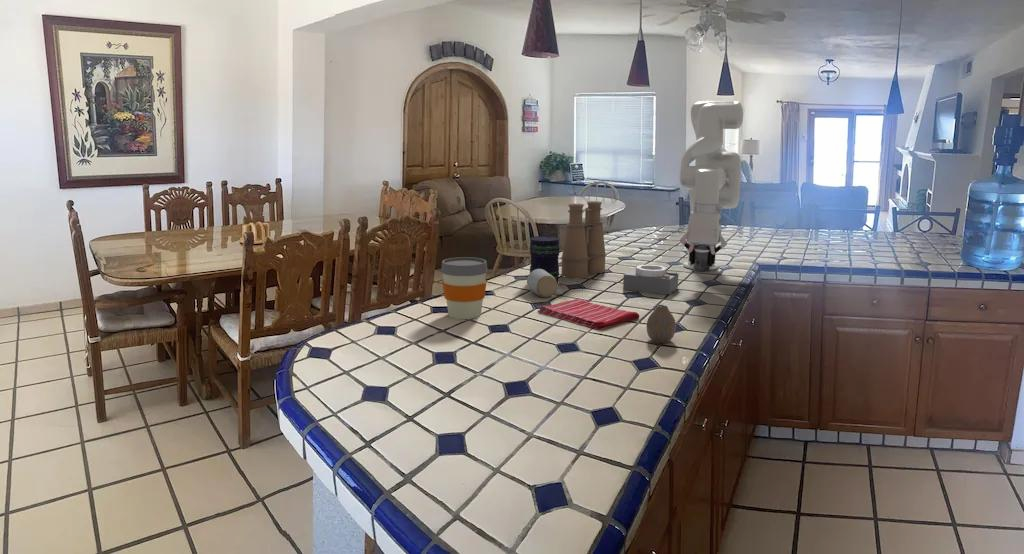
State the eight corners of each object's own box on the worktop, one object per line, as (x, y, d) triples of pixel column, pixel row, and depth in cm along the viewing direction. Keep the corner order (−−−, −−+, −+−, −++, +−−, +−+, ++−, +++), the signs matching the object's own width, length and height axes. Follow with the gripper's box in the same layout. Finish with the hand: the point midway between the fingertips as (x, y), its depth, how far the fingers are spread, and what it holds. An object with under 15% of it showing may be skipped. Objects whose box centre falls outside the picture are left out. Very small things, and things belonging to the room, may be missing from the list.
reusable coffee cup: (492, 319, 182) (492, 264, 179) (446, 322, 179) (445, 266, 176) (481, 307, 194) (481, 256, 191) (438, 310, 191) (437, 258, 187)
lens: (694, 267, 221) (696, 242, 219) (711, 269, 219) (713, 244, 217) (690, 271, 217) (692, 246, 215) (707, 273, 214) (709, 247, 212)
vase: (652, 334, 169) (654, 300, 167) (679, 339, 165) (681, 305, 163) (641, 341, 164) (642, 306, 162) (668, 347, 160) (670, 311, 158)
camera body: (632, 283, 225) (633, 262, 224) (677, 288, 218) (678, 267, 217) (623, 289, 217) (623, 268, 215) (669, 294, 210) (670, 272, 208)
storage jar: (549, 287, 220) (550, 241, 216) (523, 283, 225) (524, 238, 221) (564, 281, 228) (565, 237, 225) (538, 278, 233) (539, 235, 230)
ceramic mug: (536, 299, 204) (537, 274, 202) (526, 293, 211) (526, 269, 209) (568, 297, 208) (569, 272, 206) (556, 291, 215) (557, 267, 213)
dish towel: (599, 332, 173) (600, 322, 172) (536, 313, 190) (536, 304, 189) (641, 320, 184) (642, 311, 183) (578, 303, 201) (578, 295, 200)
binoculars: (577, 280, 230) (579, 206, 225) (554, 275, 237) (555, 204, 231) (611, 271, 245) (614, 202, 240) (589, 267, 251) (591, 199, 246)
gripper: (735, 208, 212) (731, 265, 217) (681, 205, 220) (678, 259, 224) (731, 212, 206) (726, 270, 210) (675, 208, 213) (672, 264, 218)
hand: (701, 264), depth 217 cm, fingers closed on lens, 5 cm apart
